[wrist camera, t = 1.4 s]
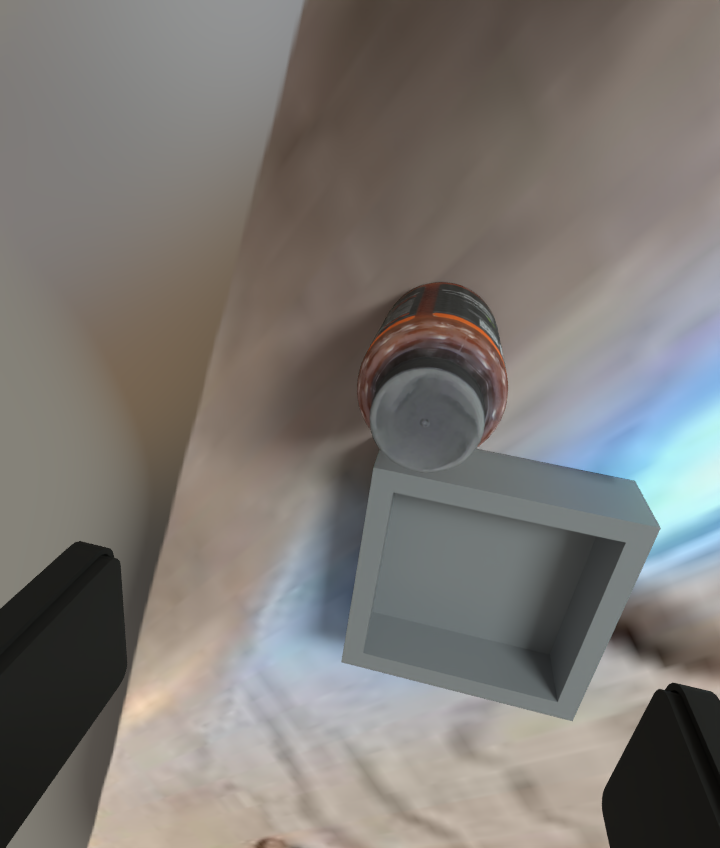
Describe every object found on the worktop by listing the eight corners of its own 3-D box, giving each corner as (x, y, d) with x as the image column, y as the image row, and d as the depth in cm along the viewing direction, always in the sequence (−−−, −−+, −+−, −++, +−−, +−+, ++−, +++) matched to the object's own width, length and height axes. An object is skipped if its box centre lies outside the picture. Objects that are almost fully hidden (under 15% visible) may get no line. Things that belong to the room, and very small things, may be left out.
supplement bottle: (370, 369, 30) (319, 465, 20) (404, 263, 27) (365, 311, 17) (473, 404, 30) (473, 520, 20) (517, 301, 27) (544, 373, 17)
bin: (386, 430, 31) (373, 467, 27) (635, 480, 30) (660, 527, 26) (355, 610, 37) (341, 662, 33) (561, 660, 36) (572, 721, 32)
